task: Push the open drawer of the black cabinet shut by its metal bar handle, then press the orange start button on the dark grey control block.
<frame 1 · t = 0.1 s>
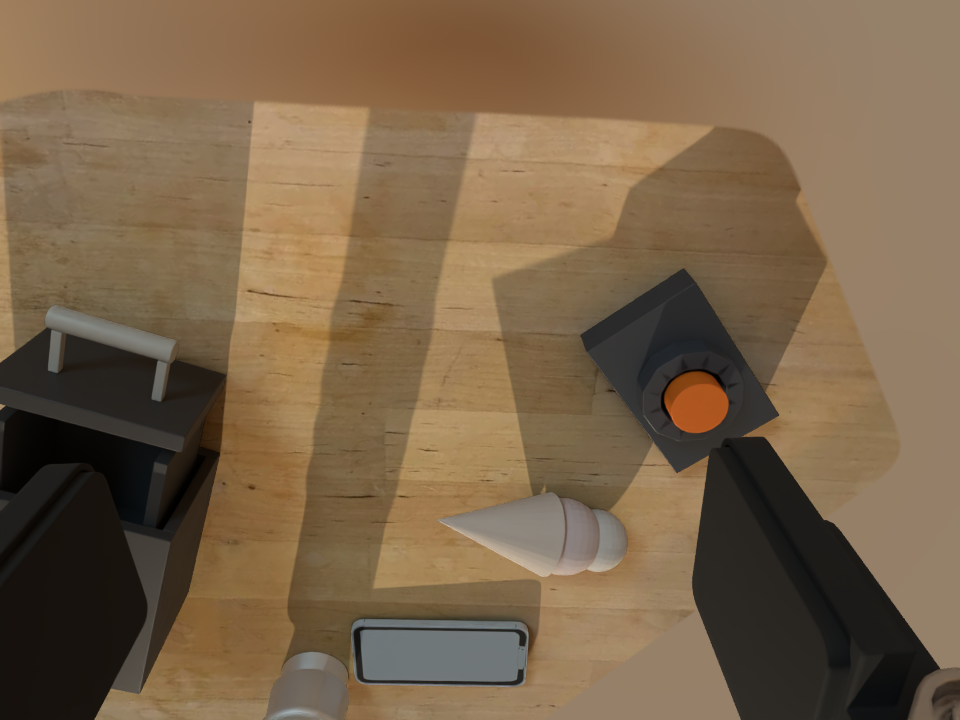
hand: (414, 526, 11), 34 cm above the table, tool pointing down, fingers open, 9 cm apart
cabinet: (120, 505, 53), on the table
candle: (315, 673, 62), on the table
smartphone: (440, 646, 60), on the table
button: (695, 401, 44), point 5 cm above the table, slide at 0.1 cm
drawer: (105, 437, 45), point 5 cm above the table, slide at 6.0 cm
control block: (674, 366, 48), on the table
ice cream cone: (530, 504, 54), on the table
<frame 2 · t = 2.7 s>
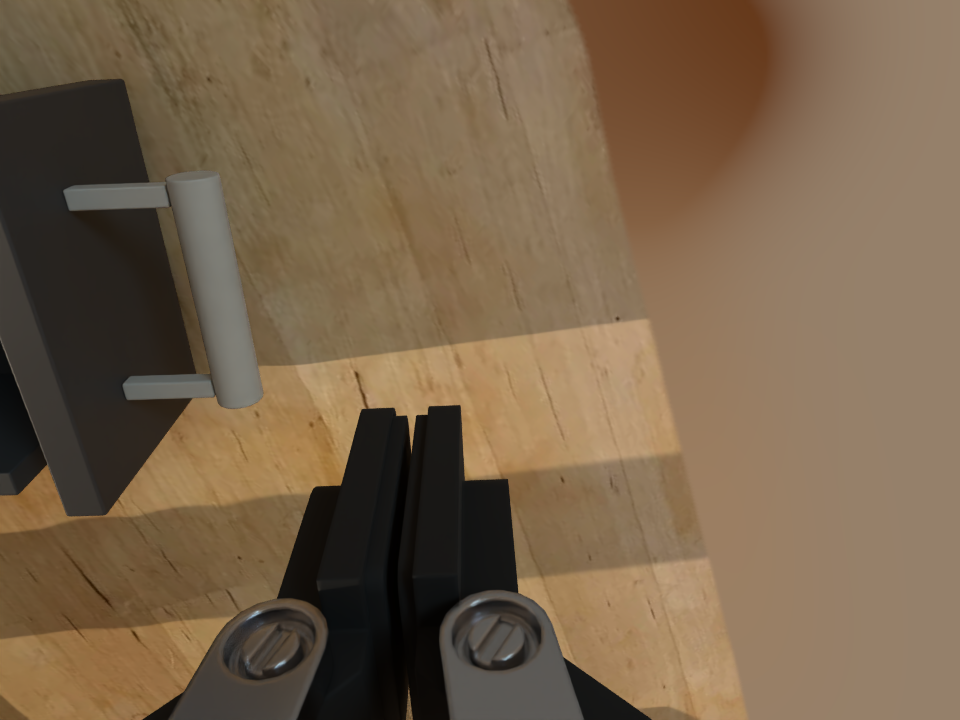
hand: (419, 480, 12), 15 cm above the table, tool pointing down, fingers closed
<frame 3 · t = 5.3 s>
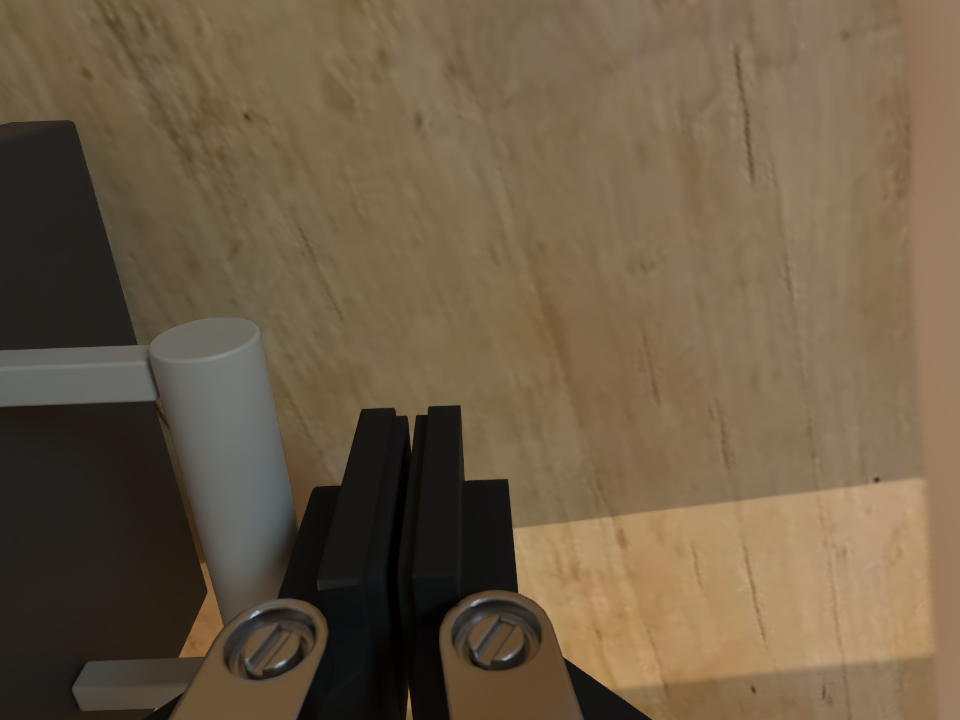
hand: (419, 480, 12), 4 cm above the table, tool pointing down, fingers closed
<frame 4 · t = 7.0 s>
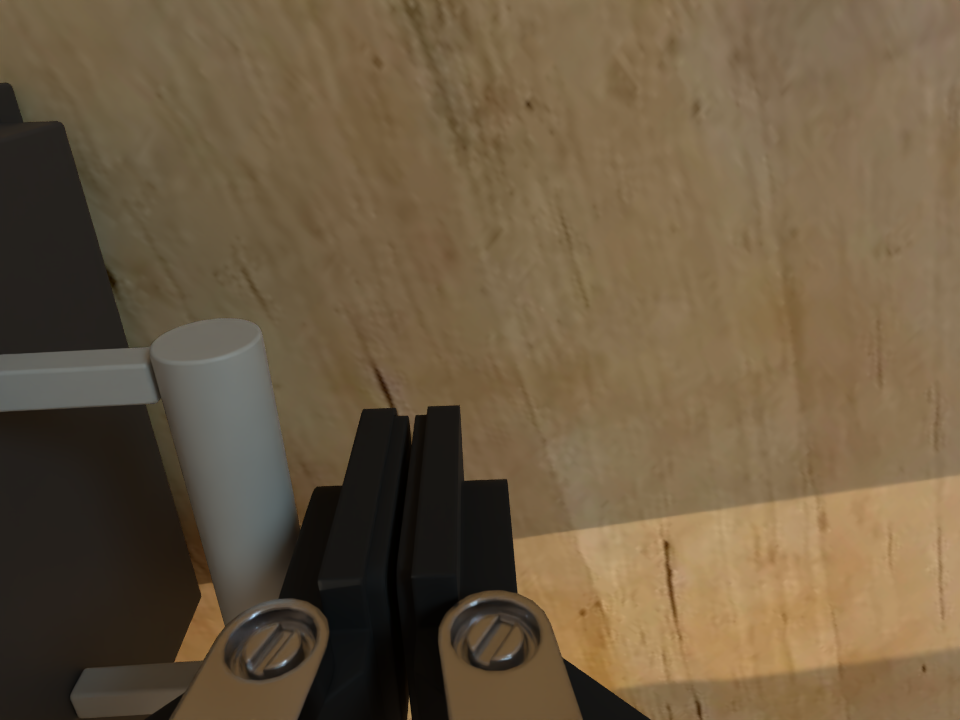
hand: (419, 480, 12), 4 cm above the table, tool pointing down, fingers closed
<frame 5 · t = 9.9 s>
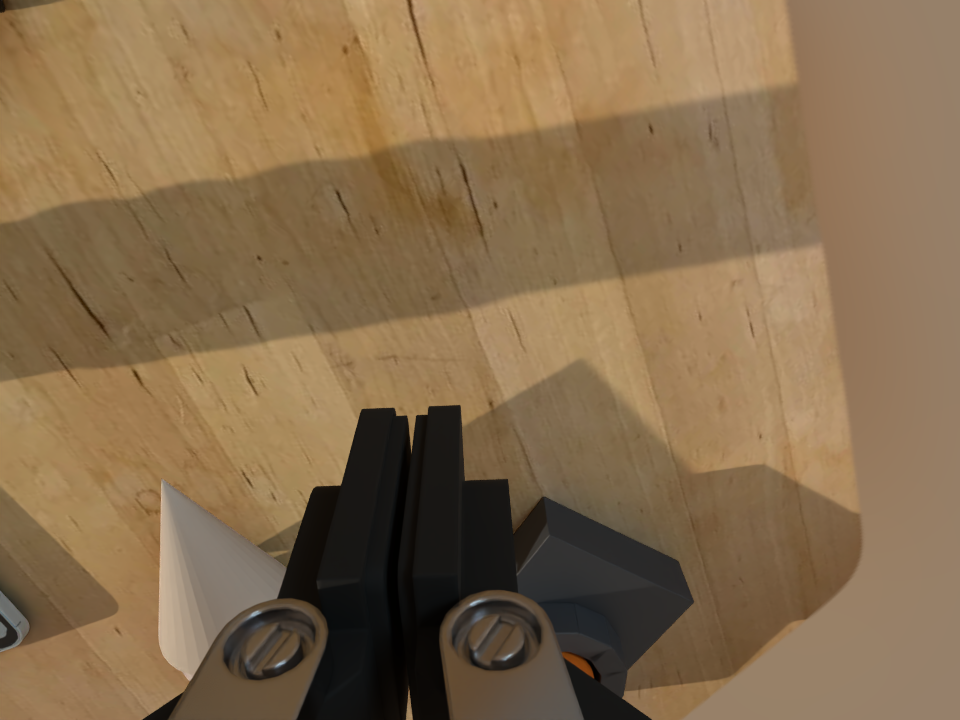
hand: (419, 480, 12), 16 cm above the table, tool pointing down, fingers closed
button: (556, 693, 31), point 5 cm above the table, slide at 0.1 cm
control block: (545, 608, 36), on the table
ice cream cone: (242, 545, 34), on the table
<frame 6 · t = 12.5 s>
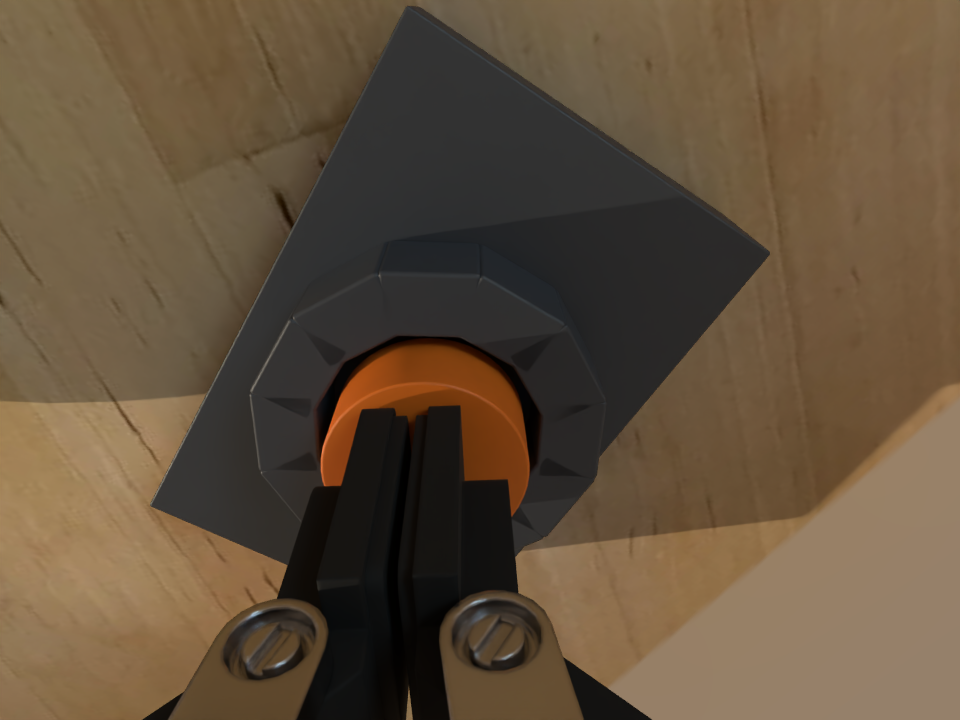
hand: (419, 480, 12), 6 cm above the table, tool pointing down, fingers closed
button: (428, 445, 13), point 5 cm above the table, slide at -0.1 cm, touching gripper
control block: (438, 336, 17), on the table
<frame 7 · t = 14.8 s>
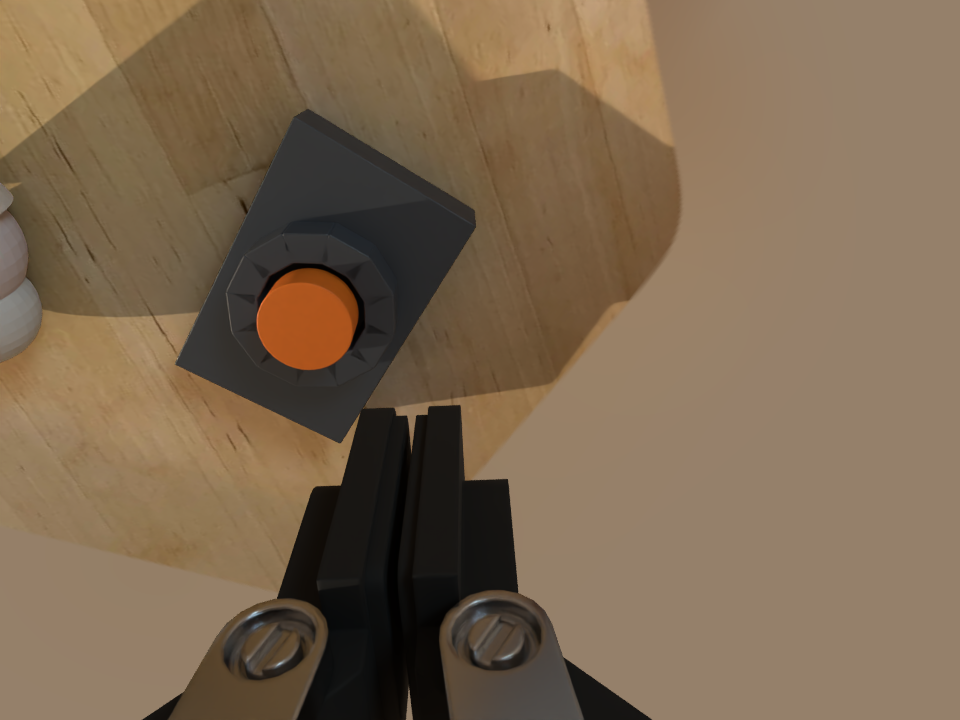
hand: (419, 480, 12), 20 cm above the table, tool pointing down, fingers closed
button: (309, 318, 27), point 5 cm above the table, slide at 0.1 cm
control block: (330, 276, 31), on the table
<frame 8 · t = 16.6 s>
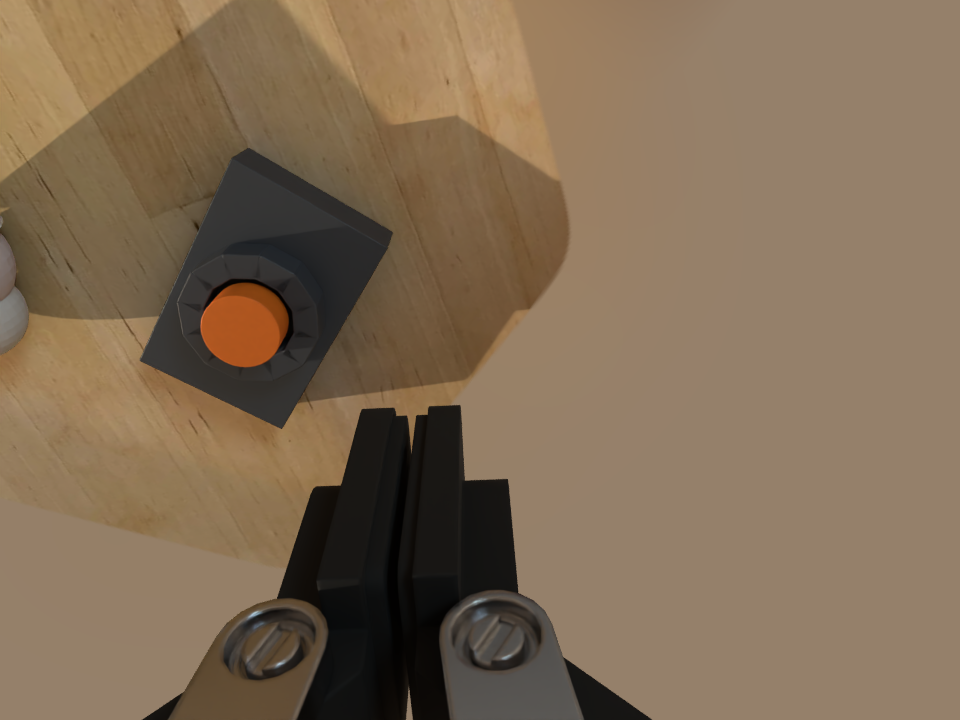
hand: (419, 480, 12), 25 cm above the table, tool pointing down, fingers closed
button: (245, 324, 32), point 5 cm above the table, slide at 0.1 cm
control block: (272, 287, 37), on the table
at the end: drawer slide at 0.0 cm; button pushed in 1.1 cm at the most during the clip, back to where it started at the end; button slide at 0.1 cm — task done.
